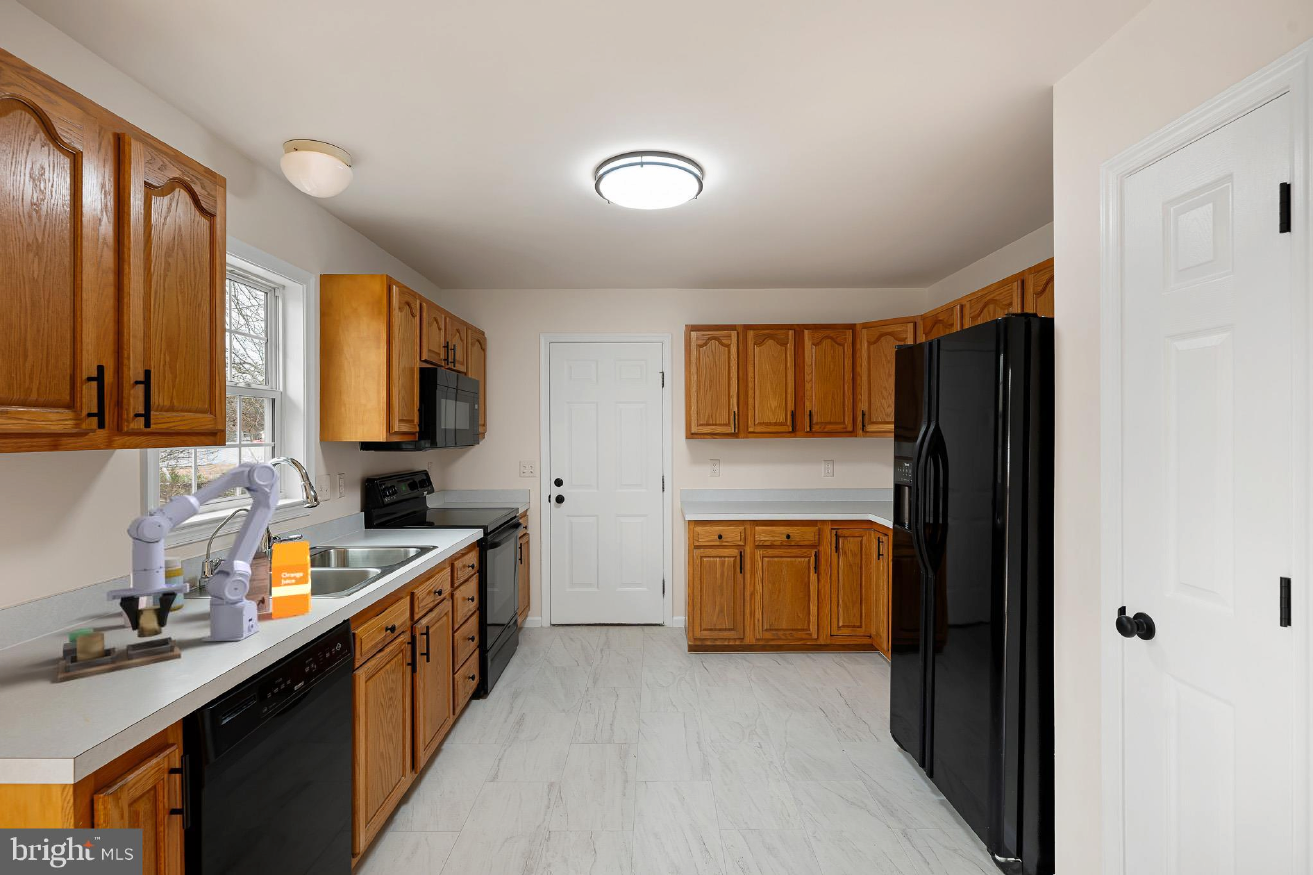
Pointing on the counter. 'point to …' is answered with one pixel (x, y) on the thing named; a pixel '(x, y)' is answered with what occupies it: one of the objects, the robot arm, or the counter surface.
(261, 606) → the coffee box
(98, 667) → the wooden fixture board
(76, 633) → the button
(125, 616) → the smoothie
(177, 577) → the bottle
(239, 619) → the robot arm
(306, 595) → the orange juice
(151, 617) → the cylinder
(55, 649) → the counter surface
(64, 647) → the button box
